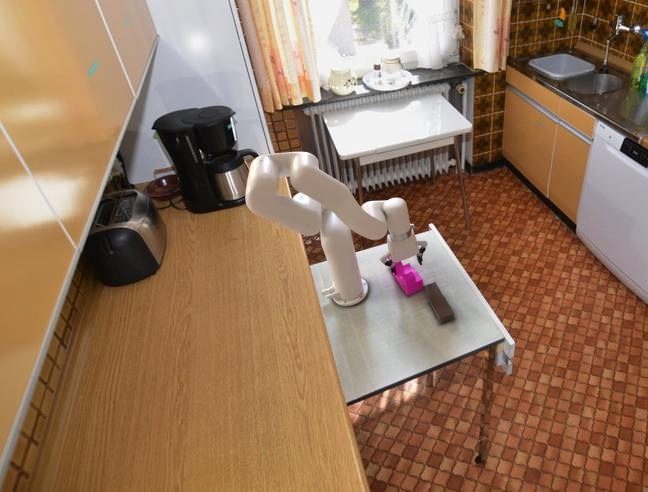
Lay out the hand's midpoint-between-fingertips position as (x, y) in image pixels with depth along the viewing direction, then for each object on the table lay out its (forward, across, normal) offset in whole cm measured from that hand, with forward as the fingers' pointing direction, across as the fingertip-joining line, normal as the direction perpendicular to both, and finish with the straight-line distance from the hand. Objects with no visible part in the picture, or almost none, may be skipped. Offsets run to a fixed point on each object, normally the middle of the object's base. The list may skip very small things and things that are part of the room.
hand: (407, 267), depth 156 cm
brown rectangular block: (+5, -4, +16) cm, 17 cm away
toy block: (+5, +1, 0) cm, 5 cm away
